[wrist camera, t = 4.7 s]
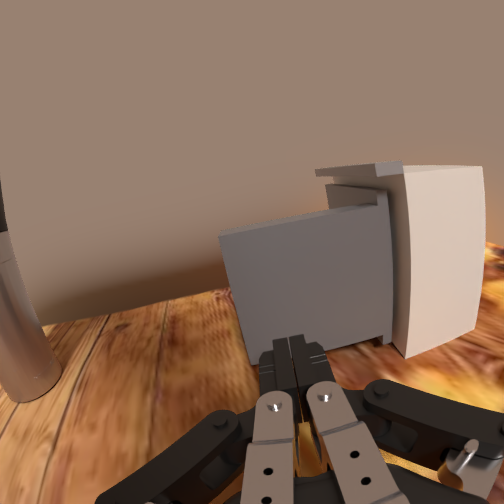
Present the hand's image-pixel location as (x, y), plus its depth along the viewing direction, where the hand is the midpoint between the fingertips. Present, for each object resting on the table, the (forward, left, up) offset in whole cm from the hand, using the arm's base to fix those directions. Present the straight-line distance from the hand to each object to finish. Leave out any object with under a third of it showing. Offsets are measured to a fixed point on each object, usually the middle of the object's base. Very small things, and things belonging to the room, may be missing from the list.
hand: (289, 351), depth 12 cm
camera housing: (+12, +13, -7) cm, 19 cm away
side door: (+3, +12, -6) cm, 14 cm away
